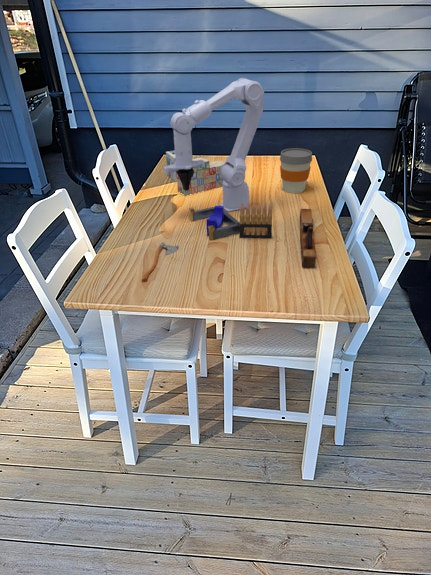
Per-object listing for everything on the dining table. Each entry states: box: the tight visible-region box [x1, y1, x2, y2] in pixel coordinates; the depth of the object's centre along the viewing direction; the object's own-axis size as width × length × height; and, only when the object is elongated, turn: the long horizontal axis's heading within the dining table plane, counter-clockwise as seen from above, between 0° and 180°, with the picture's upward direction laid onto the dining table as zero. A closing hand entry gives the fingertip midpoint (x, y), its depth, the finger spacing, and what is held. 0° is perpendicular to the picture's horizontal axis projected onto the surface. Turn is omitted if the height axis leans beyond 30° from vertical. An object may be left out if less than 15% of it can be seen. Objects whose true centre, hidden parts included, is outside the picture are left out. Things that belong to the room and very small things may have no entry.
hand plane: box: [299, 208, 317, 269], centre depth 135 cm, size 34×5×10 cm, turn 174°
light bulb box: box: [165, 149, 177, 183], centre depth 188 cm, size 11×7×11 cm, turn 25°
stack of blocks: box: [176, 156, 225, 197], centre depth 176 cm, size 21×6×12 cm, turn 123°
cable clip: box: [206, 205, 225, 237], centre depth 146 cm, size 12×4×6 cm, turn 166°
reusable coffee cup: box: [279, 147, 313, 194], centre depth 171 cm, size 13×13×15 cm
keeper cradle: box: [188, 206, 240, 241], centre depth 147 cm, size 12×18×4 cm, turn 26°
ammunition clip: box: [238, 202, 273, 240], centre depth 138 cm, size 11×2×12 cm, turn 85°
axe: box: [141, 242, 180, 283], centre depth 129 cm, size 22×6×2 cm, turn 172°
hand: (186, 189), depth 151 cm, fingers closed
